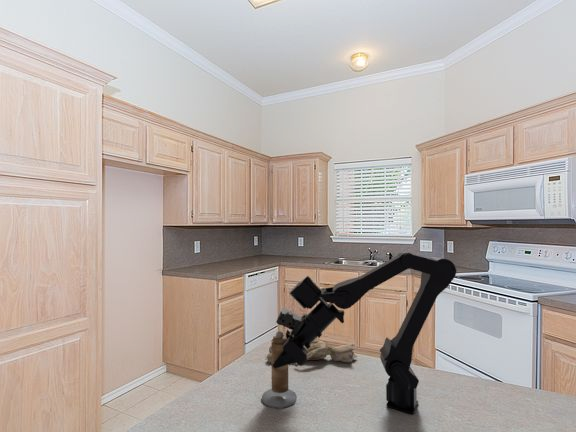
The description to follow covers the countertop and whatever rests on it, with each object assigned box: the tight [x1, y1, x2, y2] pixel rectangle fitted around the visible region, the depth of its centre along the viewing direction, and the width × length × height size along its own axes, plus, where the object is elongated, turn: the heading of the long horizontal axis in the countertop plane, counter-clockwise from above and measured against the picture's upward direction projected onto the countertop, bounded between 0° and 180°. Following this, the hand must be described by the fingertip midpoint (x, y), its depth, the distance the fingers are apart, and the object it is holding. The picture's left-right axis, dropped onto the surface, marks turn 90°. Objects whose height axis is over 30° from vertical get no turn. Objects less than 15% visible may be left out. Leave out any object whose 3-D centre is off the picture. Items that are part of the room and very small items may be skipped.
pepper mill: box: [270, 330, 289, 393], centre depth 86 cm, size 4×4×15 cm
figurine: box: [267, 339, 358, 368], centre depth 112 cm, size 17×6×30 cm
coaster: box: [261, 388, 297, 409], centre depth 86 cm, size 9×9×1 cm
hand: (274, 363), depth 86 cm, fingers closed on pepper mill, 4 cm apart
